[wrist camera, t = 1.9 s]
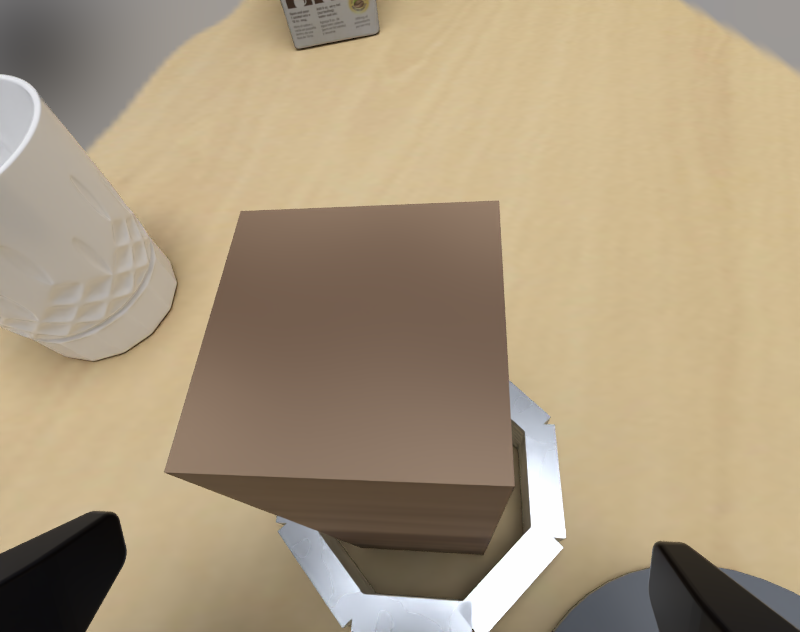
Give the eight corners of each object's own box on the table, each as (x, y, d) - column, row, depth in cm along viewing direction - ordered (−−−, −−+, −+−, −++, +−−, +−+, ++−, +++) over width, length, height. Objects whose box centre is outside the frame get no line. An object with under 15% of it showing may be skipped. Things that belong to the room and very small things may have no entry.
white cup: (188, 225, 27) (53, 51, 18) (190, 347, 23) (18, 198, 14) (49, 263, 26) (-153, 106, 18) (27, 393, 22) (-248, 271, 14)
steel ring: (562, 643, 15) (577, 652, 13) (285, 620, 16) (258, 625, 14) (538, 374, 20) (546, 348, 18) (322, 373, 21) (306, 348, 19)
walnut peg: (483, 554, 17) (514, 485, 6) (360, 547, 17) (164, 472, 6) (480, 430, 19) (499, 200, 8) (371, 428, 19) (241, 211, 8)
